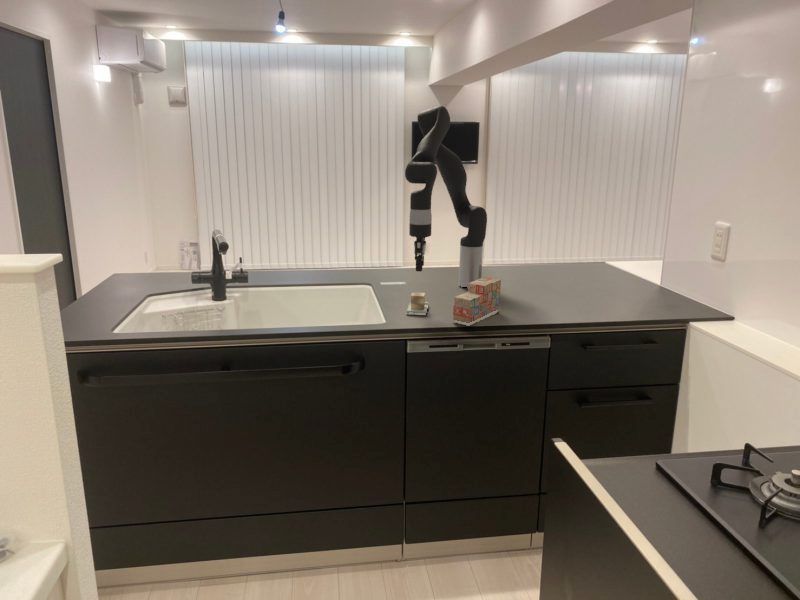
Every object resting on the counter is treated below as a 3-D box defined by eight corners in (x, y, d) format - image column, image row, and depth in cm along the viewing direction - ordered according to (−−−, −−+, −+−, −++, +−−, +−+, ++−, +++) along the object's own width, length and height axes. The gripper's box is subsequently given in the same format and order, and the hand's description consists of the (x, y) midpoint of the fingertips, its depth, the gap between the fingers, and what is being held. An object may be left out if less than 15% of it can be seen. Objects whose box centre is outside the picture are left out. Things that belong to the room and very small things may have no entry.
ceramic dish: (428, 306, 216) (428, 302, 215) (426, 315, 204) (426, 311, 204) (409, 305, 216) (409, 301, 216) (406, 314, 205) (406, 310, 204)
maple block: (424, 306, 212) (424, 292, 211) (423, 309, 207) (424, 296, 206) (411, 305, 212) (412, 292, 211) (410, 309, 208) (410, 295, 207)
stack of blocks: (468, 327, 193) (470, 291, 190) (452, 323, 196) (453, 287, 193) (499, 312, 209) (501, 279, 206) (483, 309, 213) (485, 276, 210)
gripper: (430, 225, 194) (429, 273, 199) (432, 219, 208) (431, 264, 212) (407, 225, 195) (407, 272, 199) (411, 219, 209) (410, 263, 213)
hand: (419, 268), depth 206 cm, fingers open, 8 cm apart
